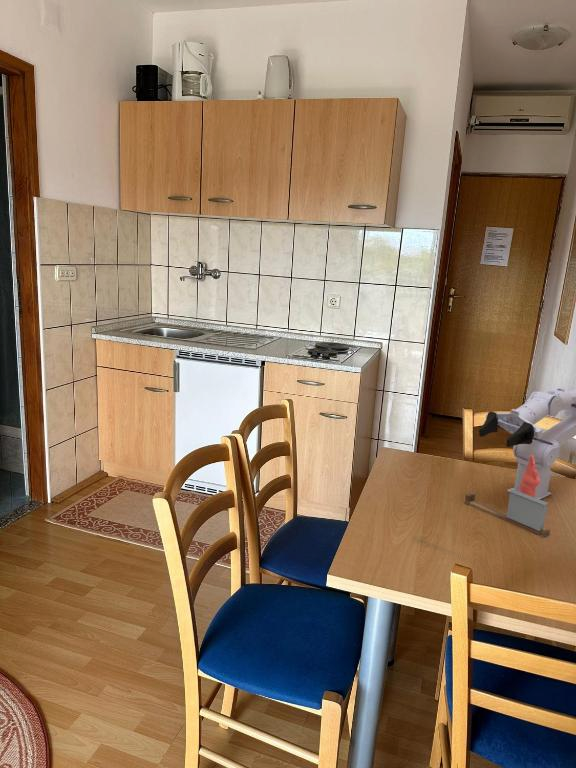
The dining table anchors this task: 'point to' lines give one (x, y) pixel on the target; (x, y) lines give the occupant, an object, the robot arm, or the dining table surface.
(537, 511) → the screen
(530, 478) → the figurine
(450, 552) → the dining table surface
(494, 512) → the rail
